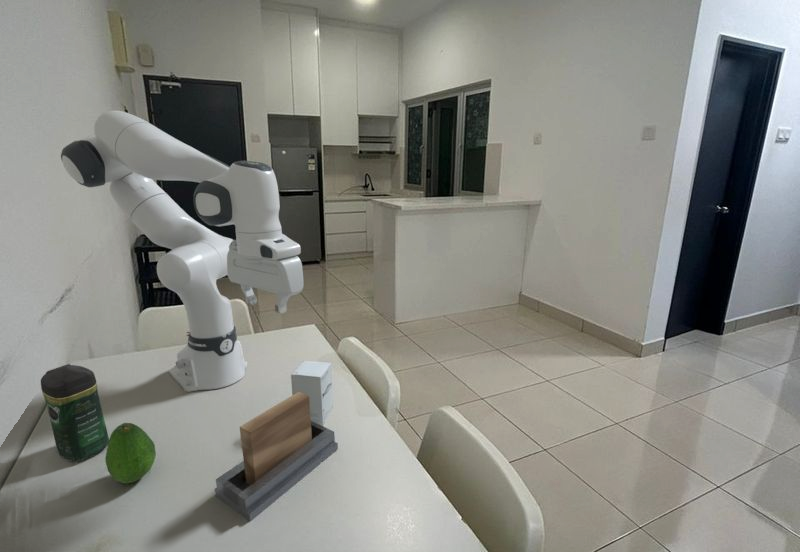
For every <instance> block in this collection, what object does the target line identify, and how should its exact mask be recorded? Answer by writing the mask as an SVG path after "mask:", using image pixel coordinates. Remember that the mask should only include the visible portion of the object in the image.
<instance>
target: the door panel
mask: <svg viewBox="0 0 800 552" xmlns="http://www.w3.org/2000/svg"><path fill="white" fill-rule="evenodd" d="M239 433H240V441H241V449H242V457H243V461H244V468H245V476H246V483H248V484H249V485H252V484H253V483H254V482H256V481H257V480H258V479H260V478H261V477H262V476H264V475H265V474H267V473H268V472H269V471H271V470H272V469H273V468H275V467H276V466H277V465H279V464H280V463H281V462H283V461H284V460H285V459H287V458H288V457H289V456H291V455H292V454H294V453H295V452H296V451H298V450H299V449H300V448H302V447H303V446H304V445H306V444H307V443H308V442H310V441H311V440H312V432H311V417H310V402H309V396H308V395H305V394H303V393H301V392H297V393H296V394H294V395H291V396H289V397H287V398H286V399H284V400H282V401H280V402H279V403H277V404H275V405H274V406H273V407H272V406H271V408H269V409H267V410H266V411H264V412H262V413H260V414H259V415H256V416H255V417H253V418H252V419H250V420H248V421H247V422H245V423H244V424H242V425H240V426H239Z"/></svg>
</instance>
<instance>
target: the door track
mask: <svg viewBox="0 0 800 552" xmlns="http://www.w3.org/2000/svg"><path fill="white" fill-rule="evenodd" d="M311 432H312V440H311V441H310V442H308V443H307V444H306V445H304V446H303V447H302V448H300V449H299V450H298V451H296V452H295V453H294V454H292V455H291V456H289V457H288V458H287V459H285V460H284V461H283V462H281V463H280V464H279V465H277V466H276V467H275V468H273V469H272V470H271V471H269V472H268V473H267V474H265V475H264V476H262V477H261V478H260V479H258V480H257V481H256V482H254V483H253V484H252V485H249V484H248V483H246V476H245V468H244V460H242V461H240V462H239V463H238V464H236V465H235V466H234V467H232V468H230V469H229V470H228V471H226V472H224V473H223V474H222V475H220V476H218V477H217V478H215V483H216V485H215V486H216V488H214V492H215V493H214V494H215V497H217V498H218V499H219V500H221V501H222V502H223V503H225V504H226V505H227V506H229V507H230V508H232V509H233V510H234V511H236V512H237V513H238V514H240V515H241V516H243V517H244V518H245V519H246V520H248V521H249V522H251V521H252V520H254V519H256V517H257V516H259V514H261V513H263V512H264V511H265V510H266V509H267V508H269V507H270V506H271V505H272V504H274V502H276V501H277V500H278V499H279V498H281V497H282V496H283V495H284V494H285V493H287V492H288V491H290V489H291V488H293V487H294V486H295V485H296V484H297V483H299V482H300V481H301V480H302V479H303V478H305V477H306V476H307V475H308V474H310V473H311V472H312V471H313V470H315V469H316V468H317V467H318V466H319V465H321V464H322V463H323V462H324V461H325V460H327V459H328V458H329V457H330V456H331V455H333V454H334V453H335V452H336V451H338V450H339V445H338V442H336V439H335V438H336V437H335V436H336V435H335V431H334V430H332V429H330V428H327V427H325V426H323V425H319V424H317V423H315V422H313V421H311ZM337 449H338V450H337ZM332 453H333V454H332ZM322 461H323V462H322ZM321 462H322V463H321ZM320 463H321V464H320Z"/></svg>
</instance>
